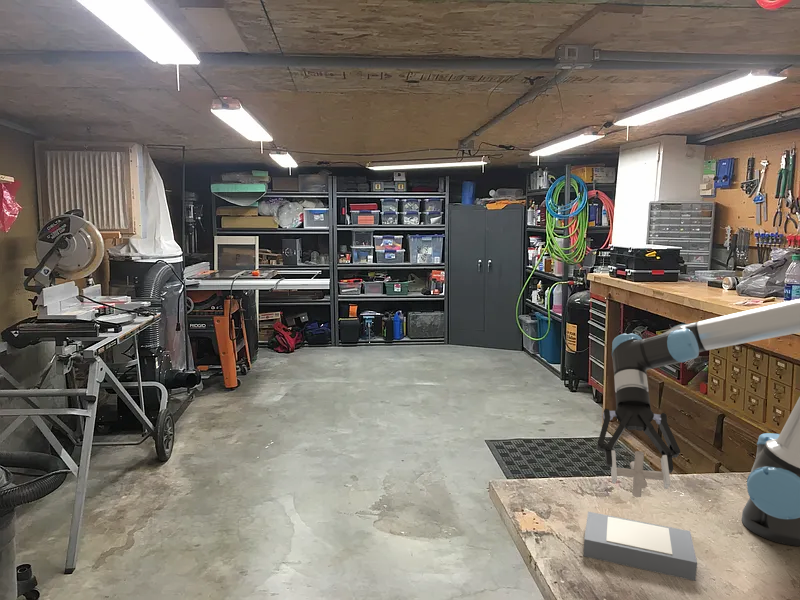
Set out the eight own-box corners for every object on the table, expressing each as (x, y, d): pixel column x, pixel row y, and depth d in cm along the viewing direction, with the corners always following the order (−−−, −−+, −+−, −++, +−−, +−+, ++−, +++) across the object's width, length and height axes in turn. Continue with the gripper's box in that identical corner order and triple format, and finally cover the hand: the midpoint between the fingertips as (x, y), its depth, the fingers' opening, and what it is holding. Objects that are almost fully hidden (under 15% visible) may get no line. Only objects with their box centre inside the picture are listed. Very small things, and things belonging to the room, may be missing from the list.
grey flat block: (688, 547, 125) (690, 530, 125) (695, 580, 114) (697, 561, 113) (587, 527, 134) (588, 510, 133) (583, 556, 122) (584, 538, 121)
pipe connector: (666, 509, 117) (669, 464, 116) (616, 503, 120) (619, 459, 118) (655, 487, 127) (658, 446, 126) (609, 483, 129) (612, 442, 128)
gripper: (679, 403, 133) (693, 495, 120) (581, 396, 138) (584, 484, 125) (686, 388, 128) (702, 483, 114) (584, 381, 133) (587, 471, 119)
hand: (640, 483), depth 120 cm, fingers closed on pipe connector, 10 cm apart
